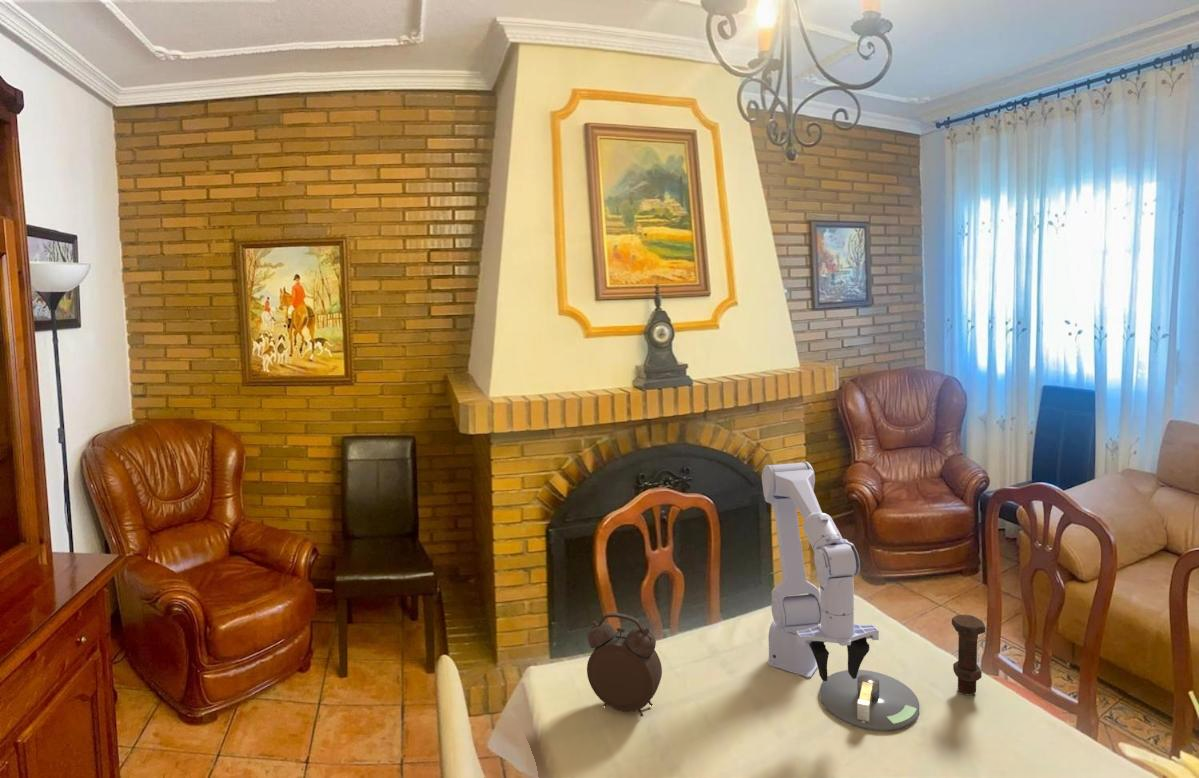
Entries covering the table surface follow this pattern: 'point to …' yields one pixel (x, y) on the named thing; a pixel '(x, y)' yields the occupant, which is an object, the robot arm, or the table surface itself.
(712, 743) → the table surface
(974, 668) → the bolt
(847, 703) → the dial plate
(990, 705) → the table surface
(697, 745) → the table surface
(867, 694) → the peg lever
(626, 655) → the alarm clock
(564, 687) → the table surface
